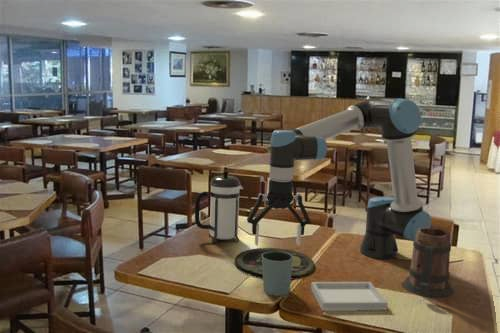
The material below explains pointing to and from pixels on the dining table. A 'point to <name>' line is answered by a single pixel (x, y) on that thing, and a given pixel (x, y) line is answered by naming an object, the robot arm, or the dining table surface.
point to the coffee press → (222, 207)
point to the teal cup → (277, 272)
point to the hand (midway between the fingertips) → (277, 244)
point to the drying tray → (348, 296)
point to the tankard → (430, 264)
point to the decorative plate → (253, 265)
